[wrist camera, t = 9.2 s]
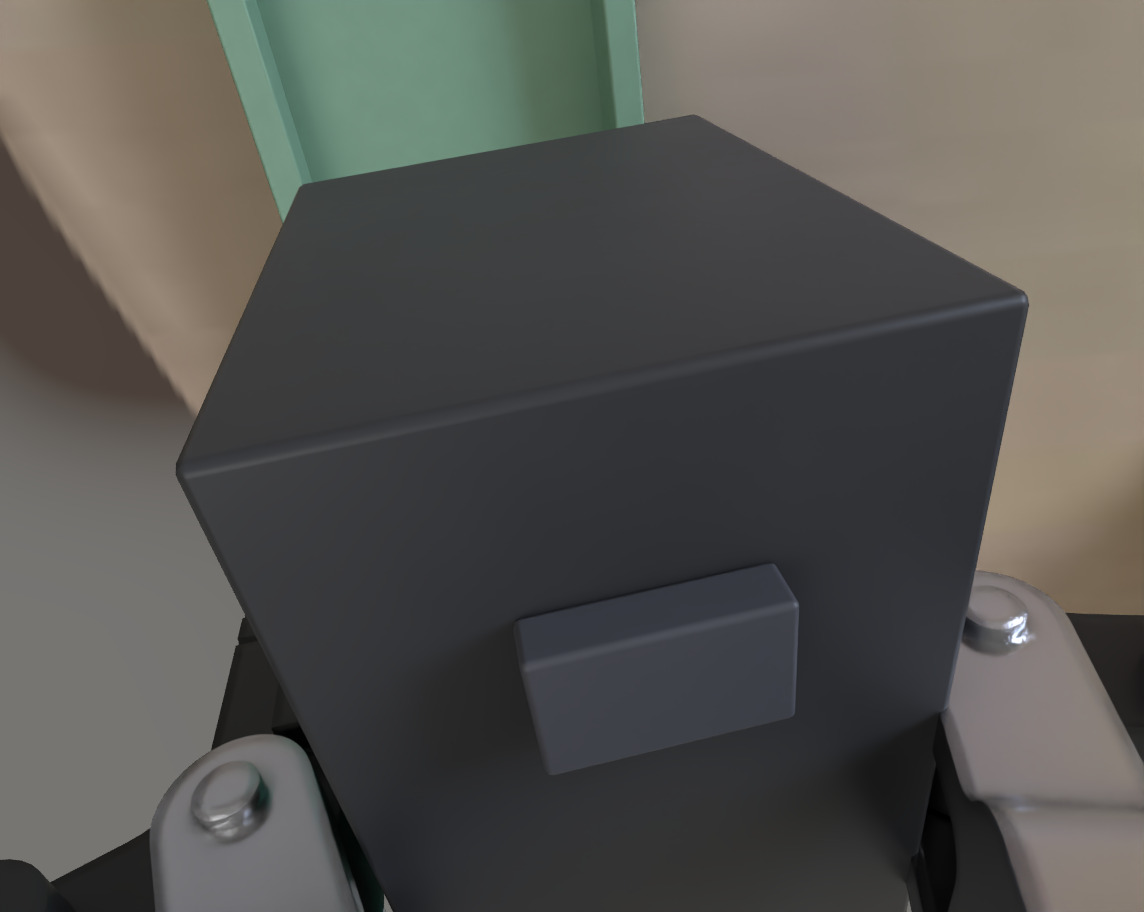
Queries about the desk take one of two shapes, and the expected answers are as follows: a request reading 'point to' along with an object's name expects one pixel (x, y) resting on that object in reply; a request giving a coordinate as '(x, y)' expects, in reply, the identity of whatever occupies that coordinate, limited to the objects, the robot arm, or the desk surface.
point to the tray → (422, 79)
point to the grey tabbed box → (612, 519)
